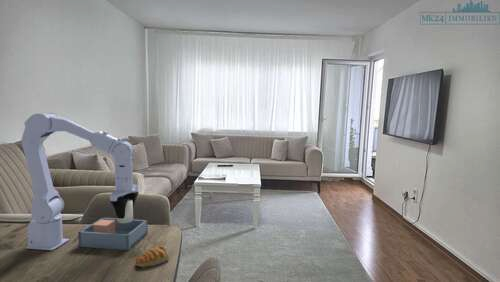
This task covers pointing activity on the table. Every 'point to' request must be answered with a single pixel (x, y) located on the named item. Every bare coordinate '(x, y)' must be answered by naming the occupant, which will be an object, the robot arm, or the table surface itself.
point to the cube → (104, 226)
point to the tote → (114, 235)
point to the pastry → (153, 257)
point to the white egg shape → (127, 212)
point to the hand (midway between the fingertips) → (125, 215)
